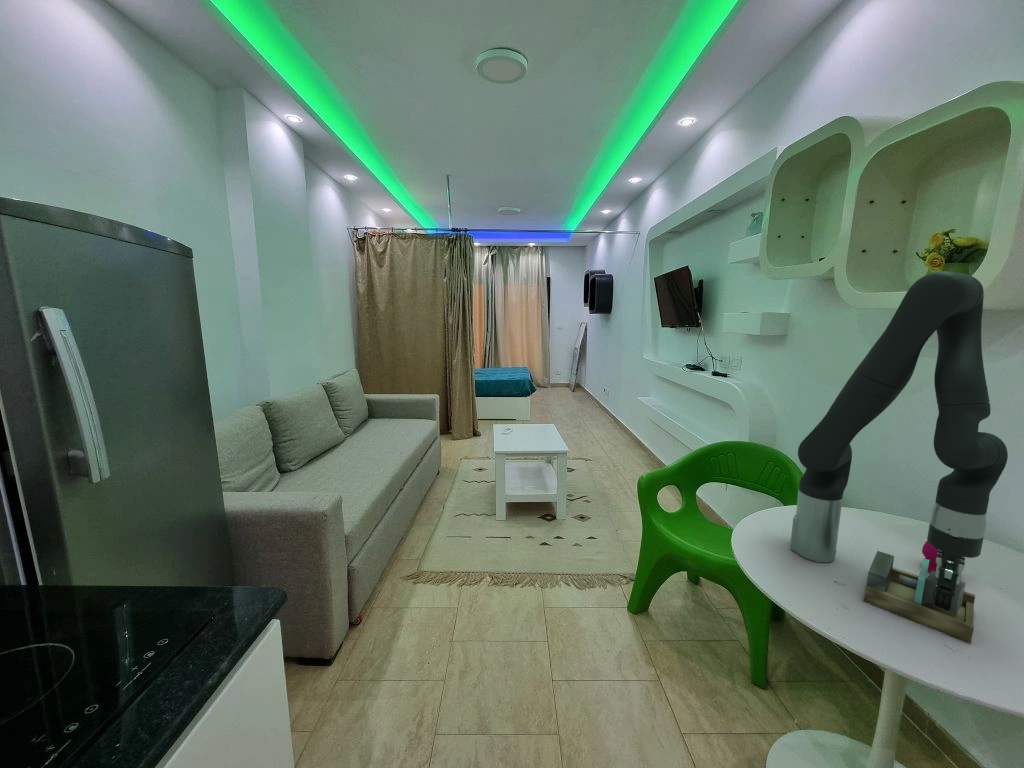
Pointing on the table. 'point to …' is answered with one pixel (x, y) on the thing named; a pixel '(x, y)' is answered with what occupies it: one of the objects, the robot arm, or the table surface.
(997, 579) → the table surface
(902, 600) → the pusher lane
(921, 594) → the bar
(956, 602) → the dice cube
